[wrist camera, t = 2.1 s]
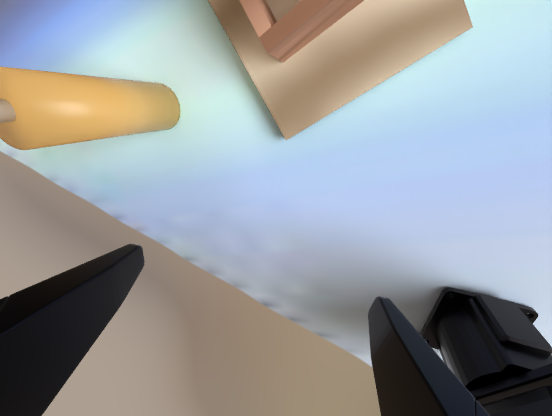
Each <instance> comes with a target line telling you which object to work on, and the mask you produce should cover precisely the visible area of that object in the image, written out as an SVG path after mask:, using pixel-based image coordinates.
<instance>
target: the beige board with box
mask: <svg viewBox="0 0 552 416" xmlns="http://www.w3.org/2000/svg"><path fill="white" fill-rule="evenodd" d="M208 1H209V3H210V5H211V7H212V8H213V10H214V12H215V14H216V16H217V17H218V19H219V21H220V23H221V25H222V26H223V28H224V30H225V32H226V34H227V35H228V37H229V39H230V41H231V43H232V44H233V46H234V48H235V50H236V51H237V53H238V55H239V57H240V59H241V60H242V62H243V64H244V66H245V68H246V69H247V71H248V73H249V75H250V77H251V78H252V80H253V82H254V84H255V86H256V87H257V89H258V91H259V93H260V95H261V96H262V98H263V100H264V102H265V104H266V105H267V107H268V109H269V111H270V112H271V114H272V116H273V118H274V120H275V121H276V123H277V125H278V127H279V129H280V130H281V132H282V134H283V136H284V138H285V139H286V140H287V139H289V138H291V137H292V136H294V135H296V134H297V133H299V132H301V131H302V130H304V129H306V128H307V127H309V126H311V125H312V124H314V123H315V122H317V121H319V120H320V119H322V118H324V117H325V116H327V115H329V114H330V113H332V112H334V111H335V110H337V109H339V108H340V107H342V106H343V105H345V104H347V103H348V102H350V101H352V100H353V99H355V98H357V97H358V96H360V95H362V94H363V93H365V92H367V91H368V90H370V89H372V88H373V87H375V86H376V85H378V84H380V83H381V82H383V81H385V80H386V79H388V78H390V77H391V76H393V75H395V74H396V73H398V72H400V71H401V70H403V69H404V68H406V67H408V66H409V65H411V64H413V63H414V62H416V61H418V60H419V59H421V58H423V57H424V56H426V55H428V54H429V53H431V52H432V51H434V50H436V49H437V48H439V47H441V46H442V45H444V44H446V43H447V42H449V41H451V40H452V39H454V38H456V37H457V36H459V35H461V34H462V33H464V32H465V31H467V30H469V29H470V28H472V27H473V26H472V23H471V20H470V17H469V14H468V11H467V8H466V5H465V2H464V0H208Z"/></svg>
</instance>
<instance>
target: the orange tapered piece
mask: <svg viewBox="0 0 552 416" xmlns="http://www.w3.org/2000/svg"><path fill="white" fill-rule="evenodd" d="M179 117H180V106H179V102H178V99H177V97H176V95H175V94H174V92H173V91H172V90H171V89H170V88H169V87H167V86H166V85H164V84H160V83H152V82H142V81H133V80H123V79H114V78H104V77H94V76H85V75H75V74H66V73H56V72H47V71H37V70H28V69H18V68H8V67H0V138H1V139H2V140H3V141H4V142H6V143H7V144H8V145H10V146H12V147H14V148H16V149H20V150H29V149H36V148H42V147H49V146H56V145H63V144H70V143H77V142H84V141H90V140H97V139H104V138H111V137H118V136H125V135H132V134H139V133H145V132H152V131H159V130H166V129H170V128H172V127H174V126H175V125H176V124H177V122H178V120H179Z"/></svg>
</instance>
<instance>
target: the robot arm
mask: <svg viewBox="0 0 552 416" xmlns="http://www.w3.org/2000/svg"><path fill="white" fill-rule="evenodd" d="M143 266H144V256H143V249H142V247H141V246H139V245H135V244H128V245H126V246H123V247H121V248H119V249H116V250H114V251H112V252H110V253H107V254H105V255H103V256H100V257H98V258H96V259H93V260H91V261H88V262H86V263H84V264H81V265H79V266H77V267H75V268H72V269H70V270H67V271H65V272H63V273H60V274H58V275H56V276H54V277H51V278H49V279H47V280H44V281H42V282H40V283H37V284H35V285H32V286H30V287H28V288H25V289H23V290H21V291H18V292H16V293H14V294H12V295H10V296H9V297H4V298H2V299H0V416H42V414H43V413H44V412H45V410H46V409H47V408H48V406H49V405H50V403H51V402H52V401H53V399H54V398H55V396H56V395H57V394H58V392H59V391H60V389H61V388H62V387H63V385H64V384H65V383H66V381H67V380H68V378H69V377H70V376H71V374H72V373H73V371H74V370H75V369H76V367H77V366H78V364H79V363H80V362H81V360H82V359H83V357H84V356H85V355H86V353H87V352H88V351H89V349H90V348H91V346H92V345H93V344H94V342H95V341H96V339H97V338H98V337H99V335H100V334H101V332H102V331H103V330H104V328H105V327H106V325H107V324H108V323H109V321H110V320H111V319H112V317H113V316H114V314H115V313H116V312H117V310H118V309H119V307H120V306H121V304H122V303H123V301H124V300H125V298H126V296H127V295H128V293H129V291H130V289H131V288H132V286H133V284H134V282H135V280H136V279H137V277H138V275H139V274H140V272H141V270H142V268H143ZM448 294H452V295H448ZM528 313H529V314H528ZM537 317H538V314H537V312H536V311H535V310H534V309H533V308H531V307H528V306H523V305H519V304H515V303H514V302H510V301H506V300H502V299H498V298H494V297H490V296H485V295H481V294H474V293H470V292H466V291H462V290H458V289H454V288H446V289H444V290H443V291H442V293H441V295H440V297H439V299H438V301H437V303H436V305H435V306H434V308H433V310H432V312H431V314H430V316H429V318H428V320H427V322H426V324H425V326H424V328H423V330H422V332H421V334H419V333H418V331H417V330H416V329H415V328H414V327H413V326H412V324H411V323H410V322H409V321H408V320H407V319H406V317H405V316H404V315H403V314H402V313H401V312H400V311H399V309H398V308H397V307H396V306H395V305H394V304H393V302H392V301H391V300H390V299H388V298H385V297H380V296H378V297H376V299H375V300H374V302H373V304H372V306H371V308H370V310H369V313H368V320H369V335H370V349H371V360H372V366H373V371H374V378H375V383H376V389H377V395H378V400H379V406H380V412H381V416H552V347H551V346H550V344H549V343H548V342H547V341H546V340H545V338H544V337H543V336H542V335H541V334H540V332H539V331H538V330H537V329H536V328H535V326H534V325H533V322H534V321H535V320H536V319H537ZM425 339H426V340H425ZM431 347H432V348H436V349H439V350H440V353H441V355H442V358H443V361H444V362H443V361H442V359H441V358H440V357H439V356H438V355H437V354H436V352H435V351H434V350H433V349H432V348H431Z"/></svg>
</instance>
